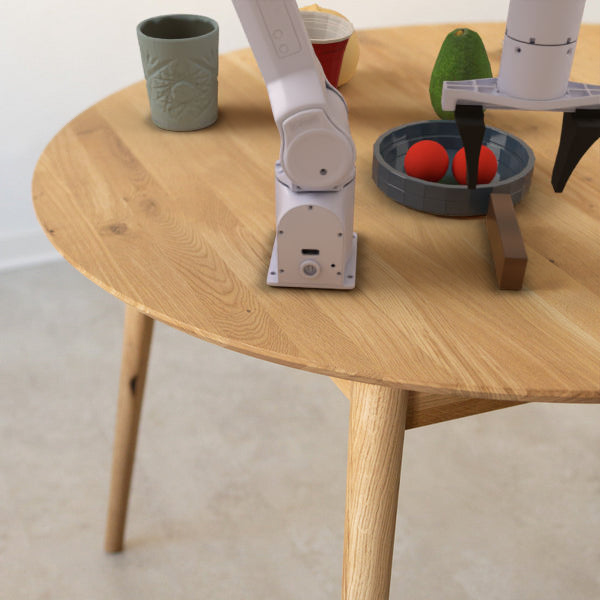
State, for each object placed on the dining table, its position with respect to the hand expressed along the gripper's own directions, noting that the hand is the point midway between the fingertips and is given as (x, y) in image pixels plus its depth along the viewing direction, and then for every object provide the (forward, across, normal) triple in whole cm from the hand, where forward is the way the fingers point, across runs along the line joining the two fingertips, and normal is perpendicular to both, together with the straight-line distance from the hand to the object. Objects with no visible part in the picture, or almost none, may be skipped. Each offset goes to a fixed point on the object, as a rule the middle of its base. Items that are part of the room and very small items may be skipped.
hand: (513, 186), depth 71 cm
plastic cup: (+8, +21, -33) cm, 40 cm away
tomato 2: (+4, +2, -13) cm, 14 cm away
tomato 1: (+4, +7, -13) cm, 16 cm away
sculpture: (+8, +21, -44) cm, 49 cm away
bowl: (+7, +4, -15) cm, 17 cm away
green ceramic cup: (+8, +37, -30) cm, 48 cm away
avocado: (+7, +2, -31) cm, 32 cm away
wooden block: (+7, 0, 0) cm, 7 cm away
